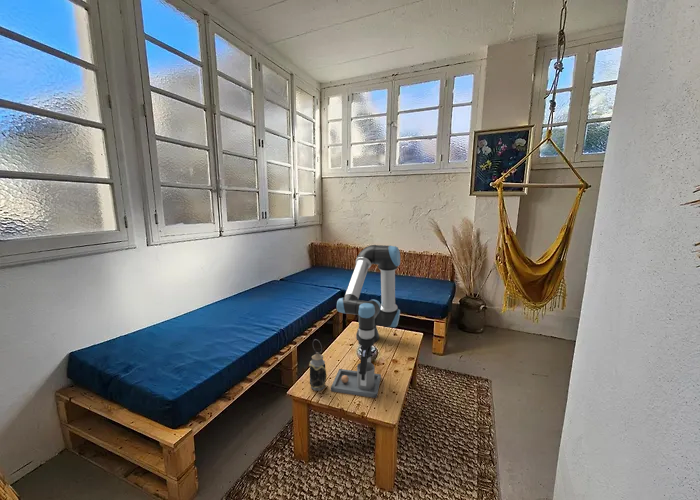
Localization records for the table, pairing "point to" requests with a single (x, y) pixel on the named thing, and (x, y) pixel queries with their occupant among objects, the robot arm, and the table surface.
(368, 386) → the cup
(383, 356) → the table surface
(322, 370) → the lantern
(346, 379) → the ball
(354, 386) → the tray
